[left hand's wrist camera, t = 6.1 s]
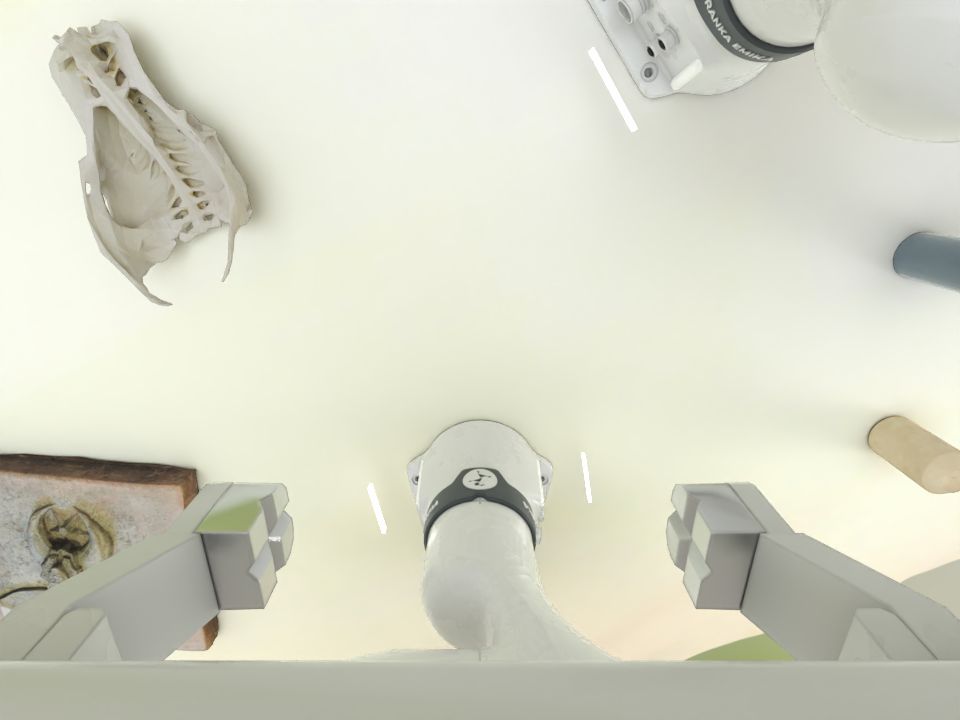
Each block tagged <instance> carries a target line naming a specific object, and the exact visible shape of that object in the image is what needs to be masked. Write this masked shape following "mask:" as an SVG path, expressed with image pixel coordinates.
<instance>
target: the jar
mask: <svg viewBox="0 0 960 720" xmlns="http://www.w3.org/2000/svg"><path fill="white" fill-rule="evenodd" d="M893 265H894V269H895V271H896V272H897V274H899V275H900V276H901V277H903V278H907V279H910V280H914V281H918V282H921V283H925V284H928V285H932V286H935V287H939V288H943V289H946V290H950V291H953V292H957V293H960V237H956V236H950V235H944V234H938V233H932V232H919V233H916V234H913V235H911V236H910V237H908V238H907V239H905V240H904V241H903V242H902V243H901V244H900V245H899V247H898V248H897V250H896V252H895V255H894V259H893Z"/></svg>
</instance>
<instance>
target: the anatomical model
mask: <svg viewBox="0 0 960 720" xmlns="http://www.w3.org/2000/svg"><path fill="white" fill-rule="evenodd" d="M91 29H92V35H91V33H90V32H89V30H88V29H87V27H78V28H77V30H78V32H76V31H75V30H73V29H72V28H70V27H69V29H68V30H67V32H66V33H65V34H64V35H63V36H62V37H59V36H57V35H54V36H53V39H54V40H55V41H57V42H58V43H59V44H60V45H58V46H57V47H56V49H55V50H54V52H53V55H52V57H51V60H50V62H49V67H50V71H51V75H52V78H53V79H54V81H55V83H56V84H57V86H58V88H59V89H60V91H61V93H62V94H63V96H64V98H65V99H66V101H67V103H68V104H69V106H70V108H71V109H72V111H73V113H74V115H75V116H76V118H77V120H78V122H79V123H80V125H81V127H82V129H83V131H84V133H85V135H86V140H87V155H86V156H85V157H84V158H82V159H81V160H80V161H79V168H80V177H81V184H82V190H83V196H84V202H85V207H86V212H87V217H88V220H89V223H90V226H91V229H92V231H93V234H94V237H95V239H96V242H97V244H98V247H99V249H100V252H101V253H102V254H103V255H104V256H105V257H106V258H107V259H108V260H109V261H110V262H111V263H112V264H113V265H114V266H115V267H116V268H117V269H118V270H119V271H120V272H121V273H122V274H124V275H125V276H126V278H127V279H128V280H129V281H130V282H131V283H132V284H133V285H134V286H135V287H136V288H137V289H138V290H139V291H140V292H141V293H142V294H143V295H144V296H146V297H147V298H148V299H149V300H150V301H151V302H153V303H155V304H158V305H162V306H170V305H172V304H171V303H168V302H165V301H163V300H160V299H159V298H157V297H156V296H154V295H152V294H150V293H149V291H148V289H147V288H146V286H145V285H144V284H143V278H142V277H143V276H145V275H146V274H147V272H148V271H149V269H150V268H151V267H152V266H154V265H155V264H156V263H159V262H164V261H165V260H167V259H168V258H169V256H170V254H171V252H172V251H173V249H174V247H175V246H176V244H177V243H176V241H175V240H174V239H175V238H177V237H179V240H181V241H183V242H185V243H187V242H188V241H190V240H191V239H193V238H194V237H196V236H197V235H198V234H200V233H205V232H206V231H207V230H208V229H209V228H216V227H221V221H223V222H227V223H229V243H228V263H227V266H226V270H225V273H224V276H223V279H222V282H224V280H225V279H226V277H227V276H228V274H229V271H230V267H231V263H232V256H233V249H234V238H235V234H236V233H237V231H238V229H239V228H240V227H241V226H243V225H246V223H247V222H248V221H249V219H250V216H251V215H252V214H253V212H252V208H251V204H250V201H249V197H248V193H247V186H246V184H245V182H244V180H243V178H242V176H241V174H240V173H239V172H238V170H237V169H236V167H235V166H234V164H233V163H232V161H231V160H230V158H229V156H228V155H227V153H226V152H225V150H224V149H223V147H222V145H221V144H220V142H219V141H218V139H217V134H216V131H215V130H214V129H213V128H211V127H209V126H207V125H204V124H202V123H200V122H199V121H198V120H197V119H196V118H195V116H194V115H191V114H189V113H187V112H186V111H185V110H184V109H181V110H177V109H175V108H174V107H172V106H171V105H169V104H168V103H167V102H166V101H165V100H164V99H163V97H162V96H161V95H160V93H159V92H158V90H157V89H156V88H155V86H154V85H153V83H152V82H151V81H150V79H149V78H148V76H147V75H146V74H145V72H144V70H143V68H142V66H141V64H140V62H139V60H138V58H137V56H136V54H135V52H134V49H133V46H132V43H131V40H130V36H129V34H128V33H127V32H126V30H125V29H124V28H123V27H122V26H121V25H120V24H119V23H118V22H117V21H106V20H101V21H100V23H99V24H98V25H95V26H92V28H91ZM139 98H140V100H141V102H142V104H143V105H142V104H140V103H138V101H139ZM145 110H146V111H147V112H144V111H145ZM150 117H151V119H152V120H153V121H152V120H150ZM177 129H178V130H180V132H179V131H178V130H177ZM132 154H133V155H132ZM131 155H132V157H131ZM86 183H90V186H91V192H90V194H89V195H87V193H86ZM102 194H103V195H104V196H105V198H106V199H107V203H108V206H109V210H110V212H111V214H110V212H109V211H108V209H107V207H106V205H105V201H104V197H103V195H102ZM207 203H209V204H208V205H207V206H206V204H207ZM177 205H178V206H177ZM212 214H213V217H212V220H208V219H207V218H206V216H208V215H212ZM111 215H112V216H111ZM182 215H183V219H182V218H179V216H182ZM112 217H113V218H112ZM220 220H221V221H220ZM190 223H192V226H193V227H192V228H191V229H190V230H188V231H187V230H186V228H187V227H188V226H189V225H190Z"/></svg>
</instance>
